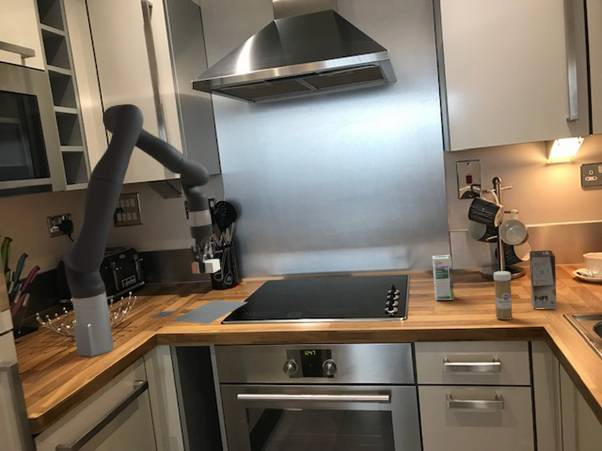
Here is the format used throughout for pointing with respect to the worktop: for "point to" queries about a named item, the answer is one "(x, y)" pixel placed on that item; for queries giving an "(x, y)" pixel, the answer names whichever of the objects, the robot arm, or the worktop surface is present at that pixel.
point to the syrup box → (443, 277)
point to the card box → (207, 266)
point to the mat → (209, 312)
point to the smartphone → (164, 314)
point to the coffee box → (543, 279)
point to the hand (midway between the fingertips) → (206, 270)
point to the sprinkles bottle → (503, 294)
